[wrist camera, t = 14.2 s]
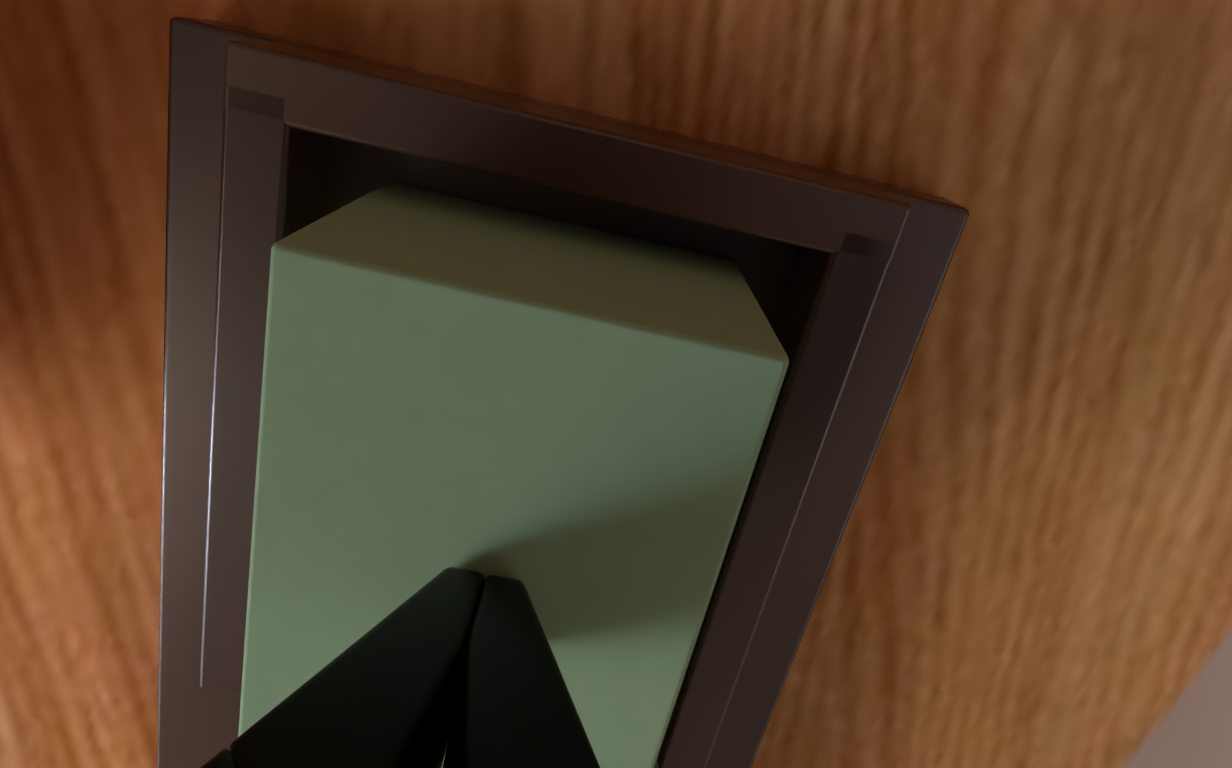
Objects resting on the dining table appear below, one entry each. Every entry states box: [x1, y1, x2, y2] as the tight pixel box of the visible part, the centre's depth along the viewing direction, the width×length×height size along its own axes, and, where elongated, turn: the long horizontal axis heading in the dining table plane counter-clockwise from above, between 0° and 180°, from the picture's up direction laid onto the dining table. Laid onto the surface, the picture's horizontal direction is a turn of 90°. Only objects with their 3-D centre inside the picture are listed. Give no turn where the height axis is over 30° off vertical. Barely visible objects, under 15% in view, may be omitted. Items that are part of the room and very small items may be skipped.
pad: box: [238, 182, 789, 768], centre depth 11 cm, size 5×7×4 cm
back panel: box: [157, 17, 969, 768], centre depth 12 cm, size 11×17×5 cm, turn 167°
